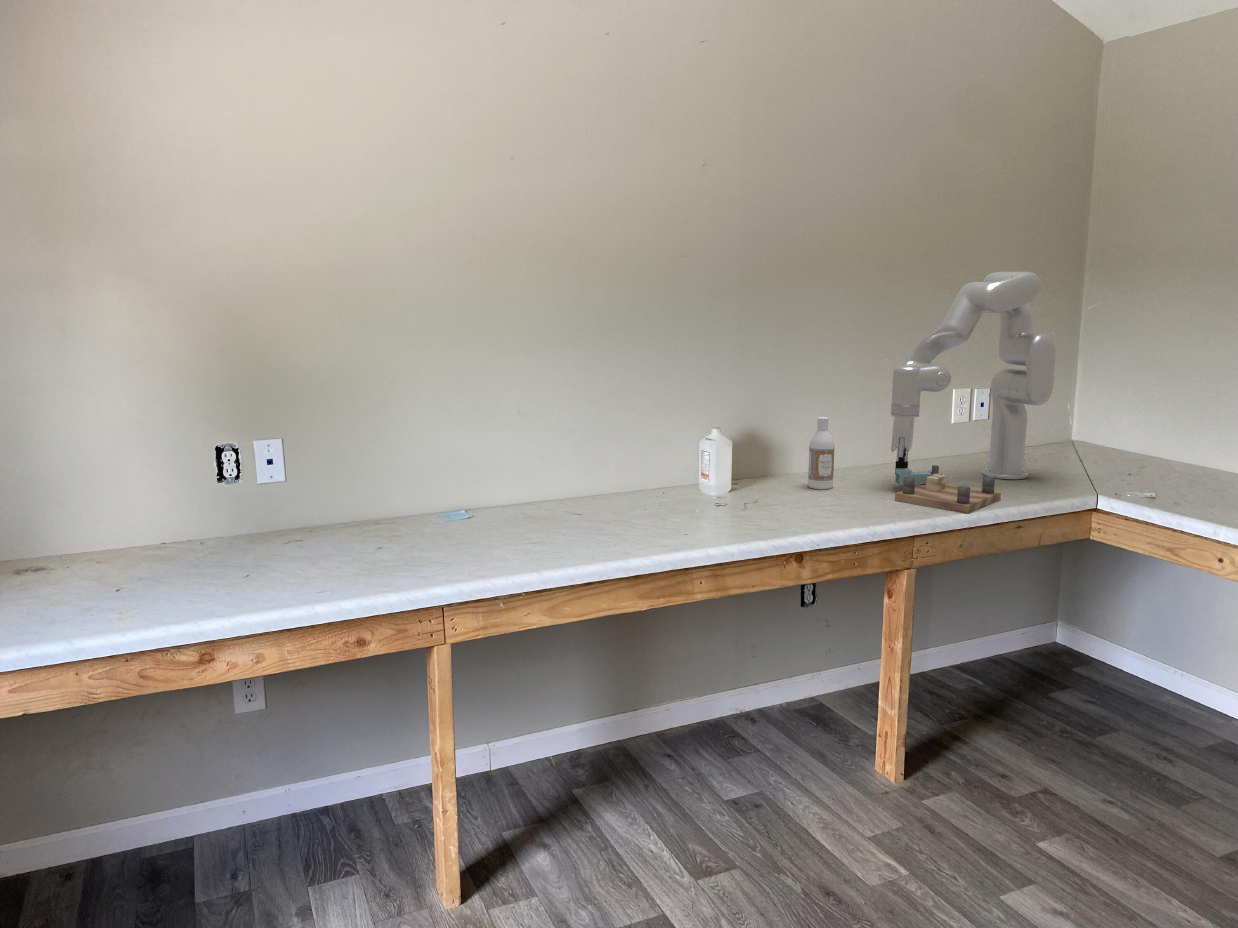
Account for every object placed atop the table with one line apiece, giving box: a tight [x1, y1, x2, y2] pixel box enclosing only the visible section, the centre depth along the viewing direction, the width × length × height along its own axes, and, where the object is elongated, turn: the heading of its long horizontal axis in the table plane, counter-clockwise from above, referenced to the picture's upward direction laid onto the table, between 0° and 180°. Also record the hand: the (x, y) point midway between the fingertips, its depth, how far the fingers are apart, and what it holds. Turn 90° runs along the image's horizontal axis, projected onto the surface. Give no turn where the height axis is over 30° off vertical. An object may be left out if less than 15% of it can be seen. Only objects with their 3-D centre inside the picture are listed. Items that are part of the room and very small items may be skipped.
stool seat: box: [894, 464, 1002, 514], centre depth 243 cm, size 20×20×7 cm
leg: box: [894, 467, 944, 486], centre depth 253 cm, size 12×4×4 cm, turn 95°
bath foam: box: [807, 416, 835, 490], centre depth 258 cm, size 7×7×20 cm
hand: (901, 475), depth 256 cm, fingers closed
